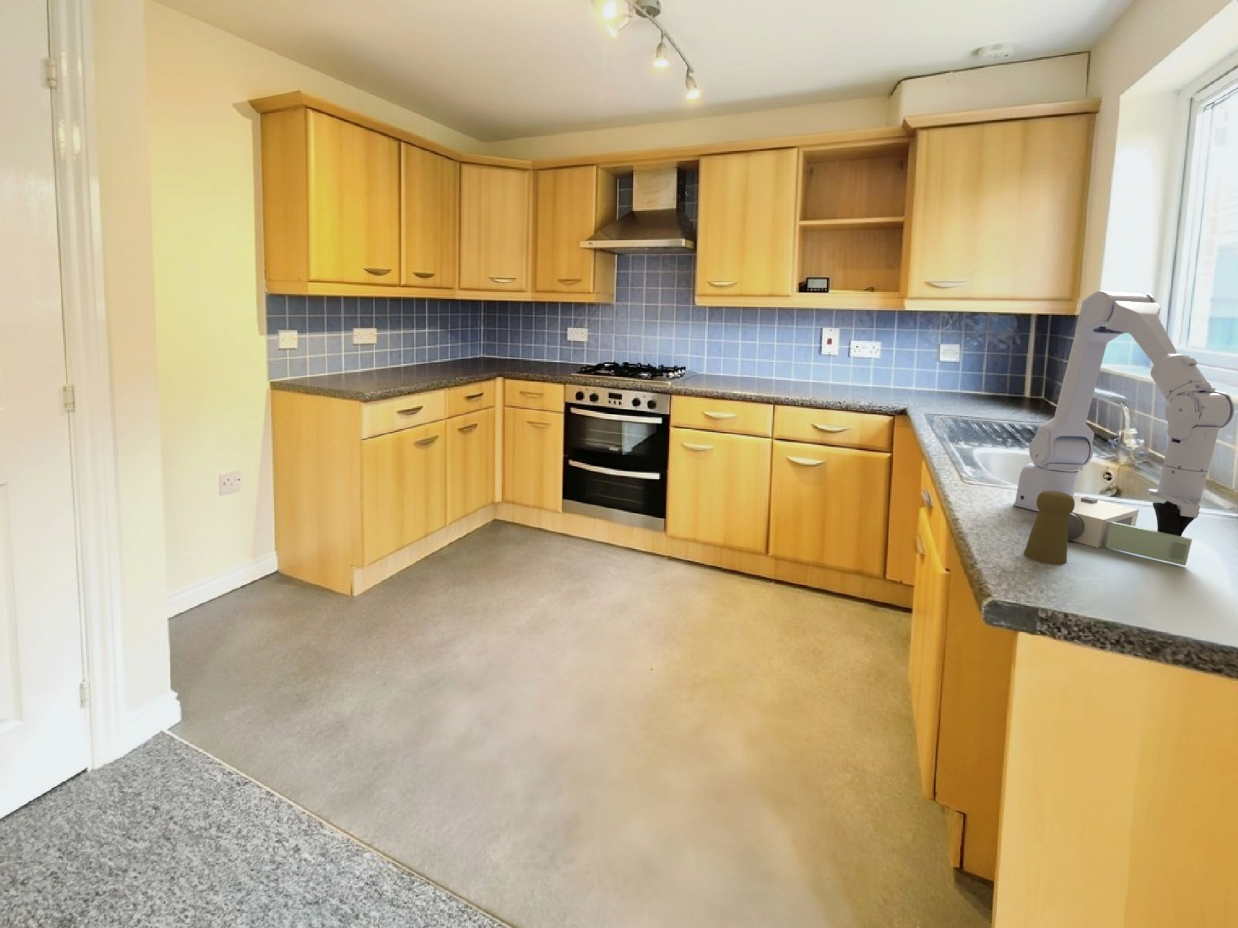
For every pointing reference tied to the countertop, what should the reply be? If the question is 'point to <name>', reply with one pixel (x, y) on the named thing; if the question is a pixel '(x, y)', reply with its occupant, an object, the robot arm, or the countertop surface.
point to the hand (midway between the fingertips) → (1165, 547)
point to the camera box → (1096, 519)
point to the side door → (1147, 542)
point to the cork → (1050, 528)
